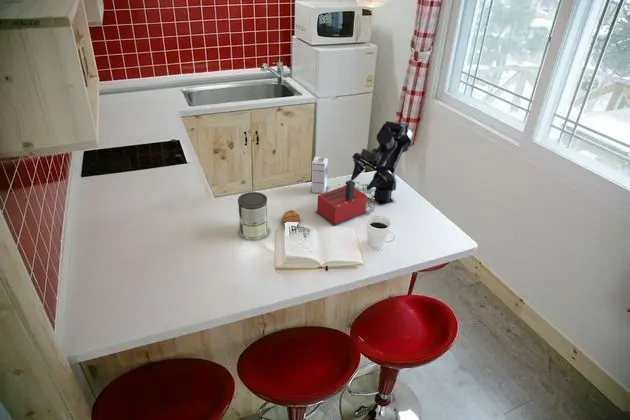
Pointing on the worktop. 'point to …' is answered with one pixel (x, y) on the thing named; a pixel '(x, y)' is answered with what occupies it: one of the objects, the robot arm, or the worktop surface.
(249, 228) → the coffee can
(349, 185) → the slider
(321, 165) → the syrup box
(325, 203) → the toaster
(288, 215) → the pastry
